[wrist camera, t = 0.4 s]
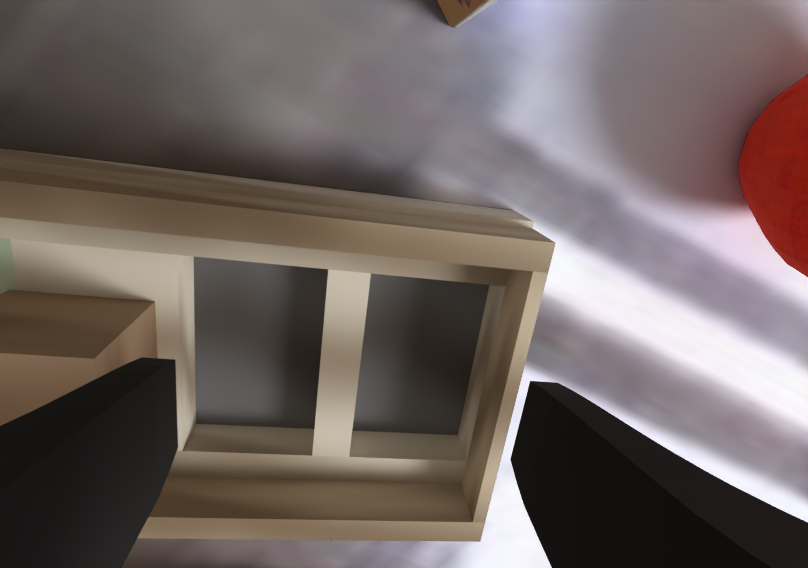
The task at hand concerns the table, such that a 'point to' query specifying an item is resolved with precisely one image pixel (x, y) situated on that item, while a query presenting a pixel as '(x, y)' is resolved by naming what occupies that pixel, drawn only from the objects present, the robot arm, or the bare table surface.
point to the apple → (780, 174)
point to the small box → (463, 9)
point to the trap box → (299, 339)
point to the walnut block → (66, 344)
